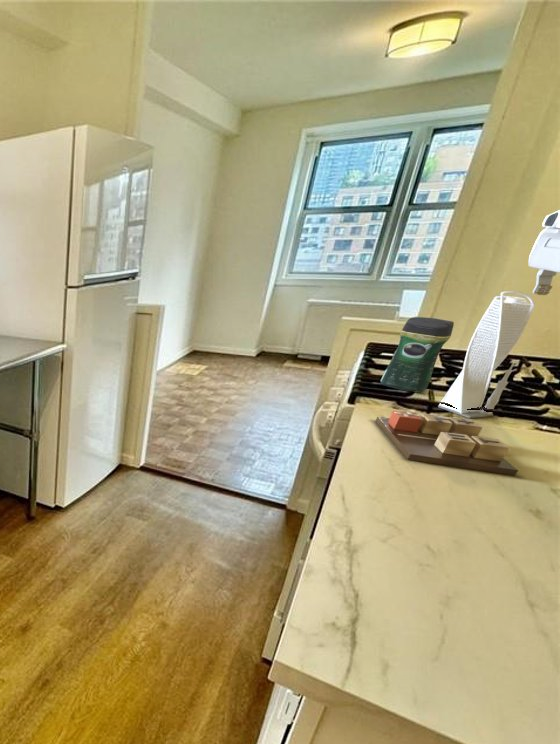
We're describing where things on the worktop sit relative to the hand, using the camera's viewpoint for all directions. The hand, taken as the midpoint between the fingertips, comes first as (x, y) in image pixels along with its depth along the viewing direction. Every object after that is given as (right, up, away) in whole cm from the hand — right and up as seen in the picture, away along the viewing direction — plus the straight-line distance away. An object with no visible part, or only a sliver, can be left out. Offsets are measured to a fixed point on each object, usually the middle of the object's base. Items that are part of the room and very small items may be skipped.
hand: (554, 298), depth 92 cm
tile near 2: (-12, -25, +11) cm, 30 cm away
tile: (-16, -29, +3) cm, 34 cm away
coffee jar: (+7, -12, +40) cm, 42 cm away
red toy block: (-17, -24, +13) cm, 32 cm away
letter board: (-14, -28, +8) cm, 33 cm away
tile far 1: (-12, -30, +2) cm, 32 cm away
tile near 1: (-8, -26, +10) cm, 29 cm away
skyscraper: (+8, -20, +25) cm, 33 cm away
